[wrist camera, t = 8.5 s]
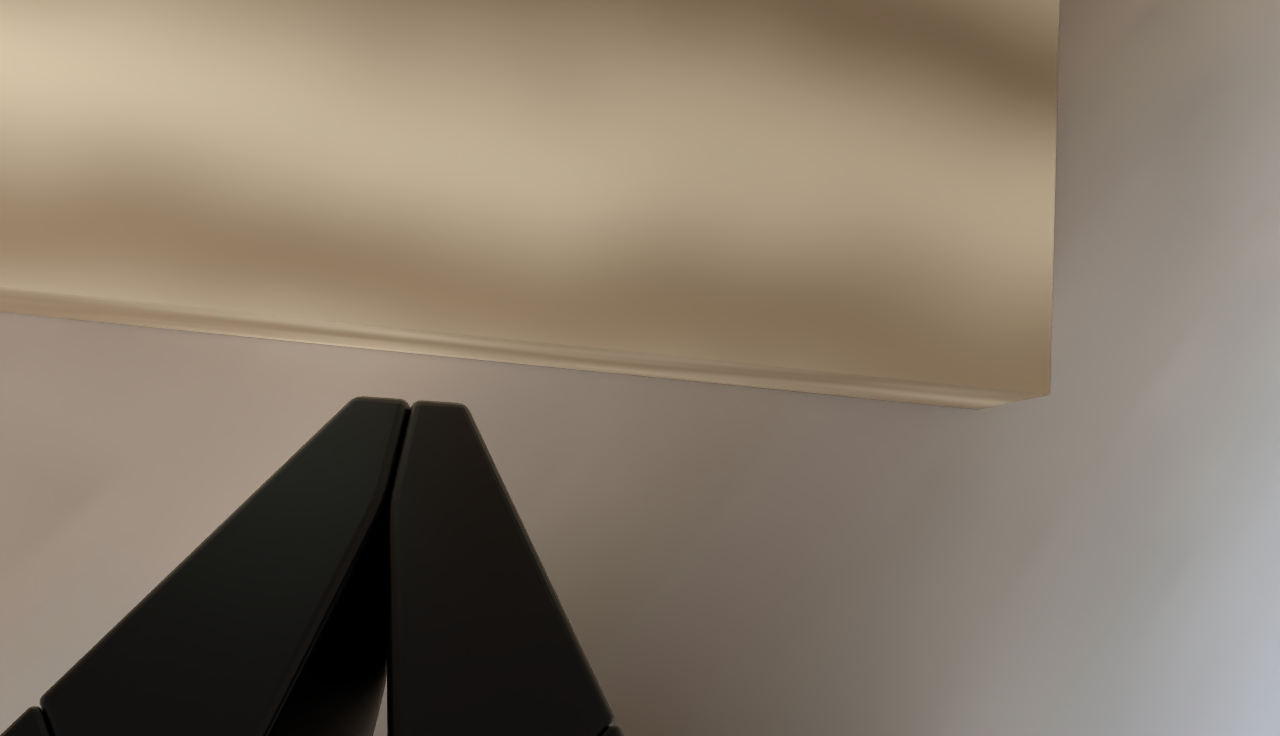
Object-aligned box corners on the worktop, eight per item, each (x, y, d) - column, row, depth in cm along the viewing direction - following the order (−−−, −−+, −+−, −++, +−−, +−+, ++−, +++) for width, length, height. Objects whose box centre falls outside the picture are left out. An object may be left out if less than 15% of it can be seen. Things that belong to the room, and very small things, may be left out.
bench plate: (977, 409, 23) (1050, 394, 21) (-116, 300, 20) (-216, 264, 18) (997, -178, 26) (1065, -268, 23) (6, -357, 22) (-65, -487, 20)
